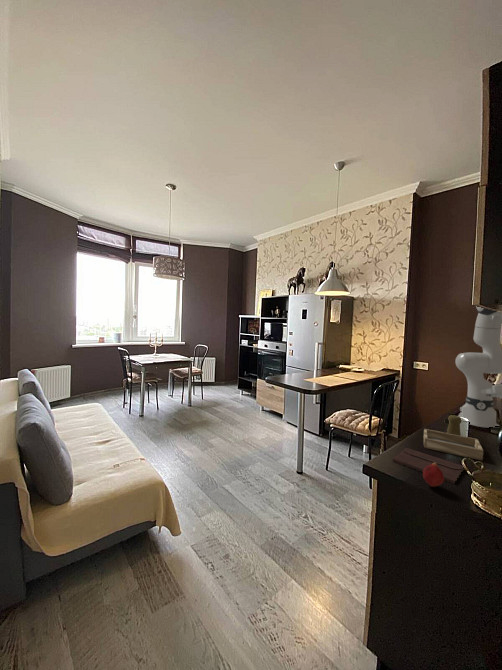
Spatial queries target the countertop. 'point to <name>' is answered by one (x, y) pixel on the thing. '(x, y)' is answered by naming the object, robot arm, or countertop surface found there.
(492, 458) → the countertop surface
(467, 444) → the tray
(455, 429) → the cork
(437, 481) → the onion
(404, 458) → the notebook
